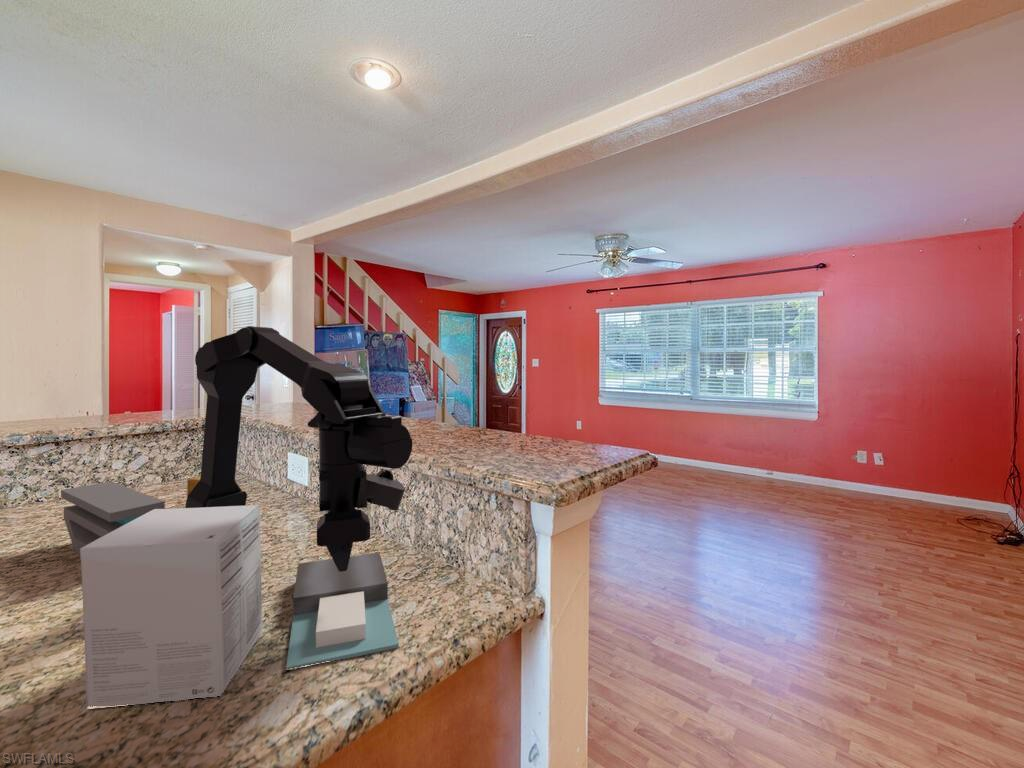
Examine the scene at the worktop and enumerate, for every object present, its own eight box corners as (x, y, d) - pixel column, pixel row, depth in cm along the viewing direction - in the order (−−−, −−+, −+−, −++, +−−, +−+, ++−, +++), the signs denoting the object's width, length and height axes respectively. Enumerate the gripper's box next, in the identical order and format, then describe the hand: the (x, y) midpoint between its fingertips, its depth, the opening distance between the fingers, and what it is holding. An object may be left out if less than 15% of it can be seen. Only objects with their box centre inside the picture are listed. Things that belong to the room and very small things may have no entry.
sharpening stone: (166, 560, 85) (164, 501, 85) (112, 576, 79) (110, 513, 78) (113, 532, 99) (111, 481, 98) (63, 544, 92) (60, 489, 91)
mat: (286, 671, 55) (286, 667, 55) (293, 618, 66) (293, 615, 66) (398, 647, 60) (398, 643, 60) (387, 602, 71) (387, 598, 71)
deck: (293, 618, 66) (293, 598, 66) (298, 581, 77) (298, 563, 77) (387, 602, 71) (387, 582, 71) (379, 568, 82) (379, 552, 82)
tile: (316, 647, 59) (315, 632, 59) (320, 611, 67) (320, 597, 67) (365, 638, 61) (365, 623, 61) (363, 604, 69) (363, 591, 69)
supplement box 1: (265, 629, 64) (262, 503, 63) (221, 699, 51) (217, 540, 50) (157, 638, 61) (152, 507, 61) (82, 713, 48) (75, 548, 48)
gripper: (410, 471, 59) (411, 590, 60) (392, 445, 77) (393, 538, 77) (315, 478, 55) (317, 607, 56) (318, 450, 73) (320, 548, 73)
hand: (342, 570), depth 66 cm, fingers closed
